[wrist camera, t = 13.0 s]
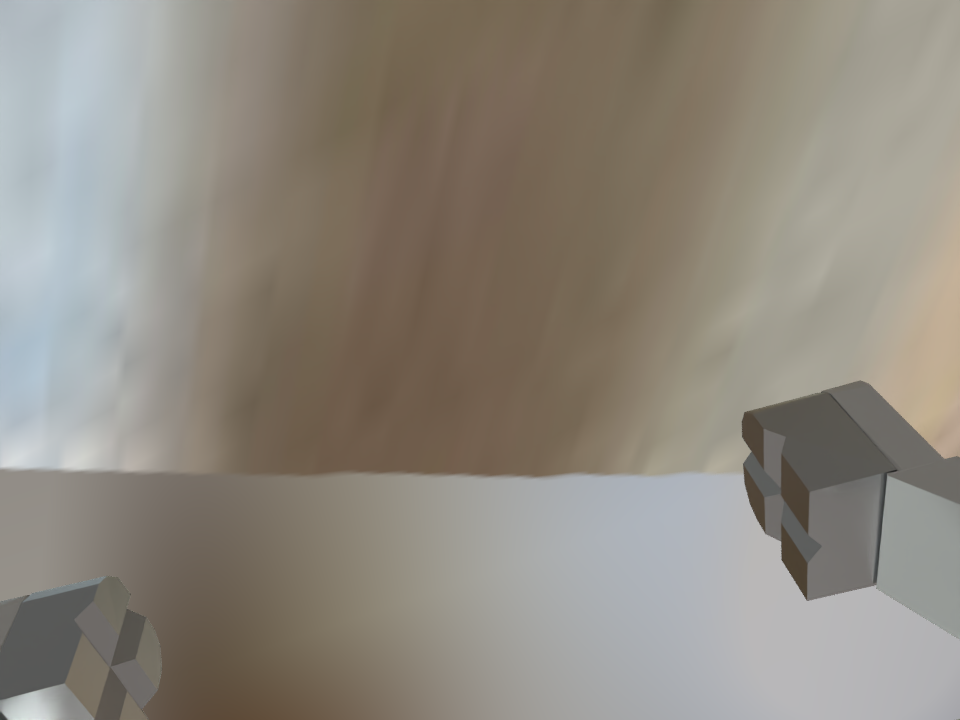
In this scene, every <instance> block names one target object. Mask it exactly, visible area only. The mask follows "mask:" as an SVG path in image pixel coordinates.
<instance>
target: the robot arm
mask: <svg viewBox="0 0 960 720" xmlns="http://www.w3.org/2000/svg"><path fill="white" fill-rule="evenodd" d="M742 438H743V439H744V441H745V442H746V444H747V445H748V447H749V448H750V450H751V451H752V452H751V453H750V455H749V456H748V457H747V459H746V460H745V462H744V463H743V469H744V482H745V487H746V490H747V494H748V498H749V502H750V505H751V507H752V509H753V512H754V514H755V516H756V518H757V520H758V522H759V524H760V525H761V527H762V529H763V530H764V532H765V534H767V535H769V536H771V537H773V538H775V539H777V540H779V541H781V549H782V550H781V552H782V553H781V554H782V561H783V563H784V564H785V566H786V568H787V569H788V571H789V573H790V574H791V576H792V577H793V579H794V581H795V582H796V584H797V585H798V587H799V589H800V590H801V592H802V593H803V595H804V597H805V598H806V600H807V601H809V600H813V599H817V598H822V597H826V596H831V595H835V594H839V593H844V592H848V591H852V590H857V589H861V588H865V587H870V586H874V585H876V589H878V590H879V591H881V592H883V593H884V594H886V595H888V596H889V597H891V598H893V599H894V600H896V601H897V602H899V603H901V604H902V605H904V606H906V607H907V608H909V609H910V610H912V611H914V612H915V613H917V614H919V615H920V616H922V617H923V618H925V619H927V620H929V621H930V622H932V623H933V624H935V625H937V626H938V627H940V628H941V629H943V630H945V631H946V632H948V633H950V634H951V635H953V636H954V637H956V638H958V639H960V457H957V456H956V457H952V458H947V459H944V458H943V457H942V456H941V455H940V454H939V453H938V452H937V451H936V450H935V449H934V448H933V447H932V446H931V445H930V444H929V443H928V442H927V441H926V440H925V439H924V438H923V437H922V436H921V435H920V434H919V433H918V432H917V431H916V430H915V429H914V428H913V427H912V426H911V425H910V424H909V423H908V422H907V421H906V420H905V419H904V418H903V417H902V416H901V415H900V414H899V413H898V412H897V411H896V410H895V409H894V408H893V407H892V406H891V405H890V404H889V403H888V402H887V401H886V400H885V399H884V398H883V397H882V396H881V395H880V394H879V393H878V392H877V391H876V390H875V389H874V388H873V387H872V386H871V385H870V384H868V383H866V382H863V381H857V382H853V383H849V384H846V385H842V386H839V387H835V388H831V389H828V390H824V391H822V392H821V393H815V394H812V395H808V396H804V397H800V398H797V399H793V400H789V401H785V402H781V403H778V404H774V405H770V406H766V407H762V408H759V409H755V410H751V411H747V412H744V416H743V419H742ZM130 595H131V594H130V593H129V591H128V590H127V589H126V587H125V586H124V585H123V583H122V582H121V581H120V579H119V578H118V577H112V576H105V577H100V578H96V579H92V580H88V581H84V582H79V583H75V584H70V585H66V586H62V587H57V588H53V589H49V590H45V591H41V592H36V593H32V594H31V595H27V596H23V597H18V598H14V599H9V600H5V601H1V602H0V720H148V718H147V717H146V715H145V714H144V712H143V710H142V709H143V707H144V706H145V705H146V704H147V703H148V701H149V700H150V699H151V698H152V696H153V695H154V694H155V693H156V692H157V690H158V686H159V681H160V675H161V671H162V666H161V650H160V644H159V641H158V639H157V636H156V633H155V630H154V628H153V627H152V625H151V624H150V622H149V621H148V619H147V618H146V617H144V616H142V615H140V614H138V613H135V612H133V611H131V610H129V609H127V606H128V602H129V599H130ZM958 720H960V719H958Z"/></svg>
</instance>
